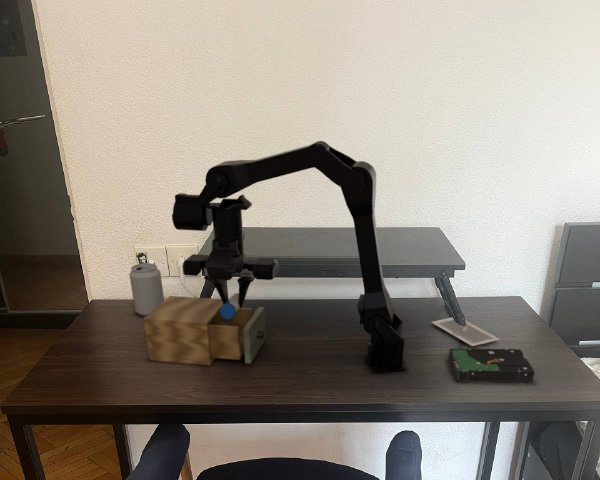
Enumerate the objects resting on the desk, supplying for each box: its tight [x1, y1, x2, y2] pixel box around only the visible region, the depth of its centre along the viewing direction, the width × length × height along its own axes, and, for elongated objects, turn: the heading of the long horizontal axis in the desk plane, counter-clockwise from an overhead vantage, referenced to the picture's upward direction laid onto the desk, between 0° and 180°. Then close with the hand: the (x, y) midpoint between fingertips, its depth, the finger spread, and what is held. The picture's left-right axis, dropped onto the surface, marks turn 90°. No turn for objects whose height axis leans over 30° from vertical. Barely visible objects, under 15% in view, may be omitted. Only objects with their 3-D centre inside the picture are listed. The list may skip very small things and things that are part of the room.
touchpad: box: [430, 316, 501, 347], centre depth 133 cm, size 8×15×2 cm, turn 25°
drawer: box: [208, 306, 267, 365], centre depth 124 cm, size 14×12×8 cm
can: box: [128, 262, 165, 317], centre depth 145 cm, size 8×8×12 cm
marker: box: [220, 292, 240, 319], centre depth 121 cm, size 8×3×3 cm, turn 168°
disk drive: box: [448, 347, 535, 383], centre depth 117 cm, size 10×3×15 cm
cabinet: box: [143, 295, 224, 366], centre depth 126 cm, size 14×14×10 cm
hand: (233, 306), depth 121 cm, fingers closed on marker, 3 cm apart
